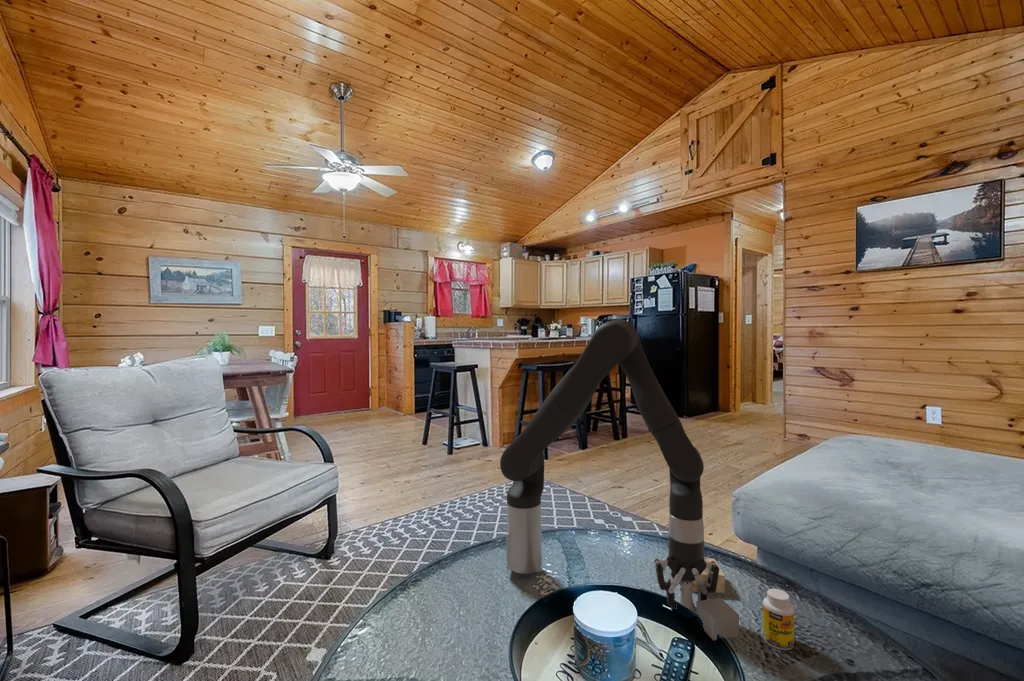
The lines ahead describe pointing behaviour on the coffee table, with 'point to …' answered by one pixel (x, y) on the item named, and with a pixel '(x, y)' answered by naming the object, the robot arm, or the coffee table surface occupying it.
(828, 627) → the coffee table surface
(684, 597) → the rook chess piece
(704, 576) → the oak block
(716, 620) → the slate block
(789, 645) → the supplement bottle
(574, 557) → the coffee table surface
